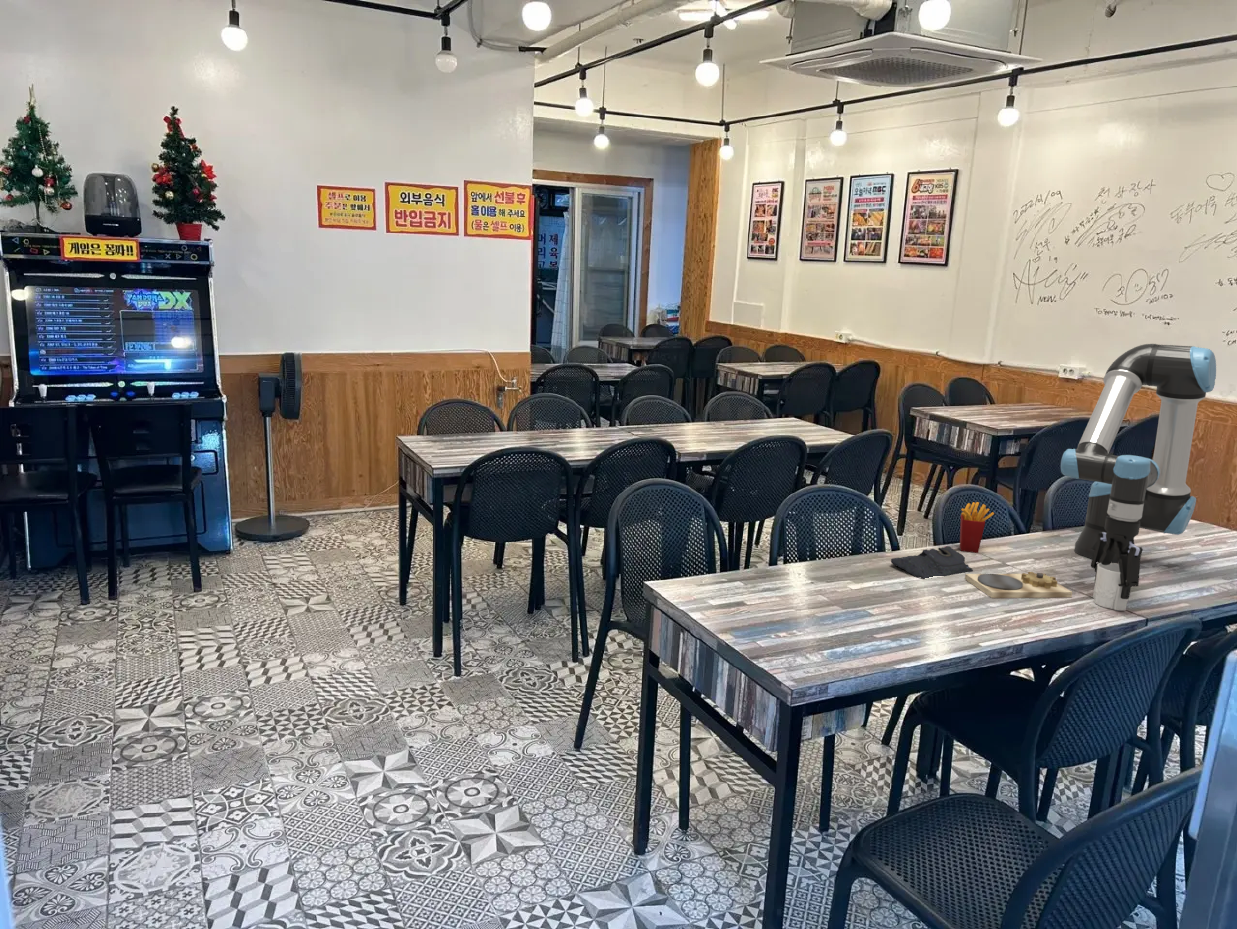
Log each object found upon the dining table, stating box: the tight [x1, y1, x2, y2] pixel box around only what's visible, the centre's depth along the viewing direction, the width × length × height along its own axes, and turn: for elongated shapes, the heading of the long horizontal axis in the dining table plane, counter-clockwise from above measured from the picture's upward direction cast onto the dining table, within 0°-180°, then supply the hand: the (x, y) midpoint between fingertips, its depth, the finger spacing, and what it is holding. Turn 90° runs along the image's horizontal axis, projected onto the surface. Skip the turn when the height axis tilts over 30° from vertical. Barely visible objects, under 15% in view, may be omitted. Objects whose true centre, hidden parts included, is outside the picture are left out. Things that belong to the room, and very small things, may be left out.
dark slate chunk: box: [890, 545, 974, 580], centre depth 246 cm, size 15×22×5 cm
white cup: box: [1093, 562, 1121, 610], centre depth 221 cm, size 8×8×10 cm
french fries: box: [959, 501, 995, 554], centre depth 263 cm, size 9×8×15 cm
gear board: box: [964, 571, 1073, 599], centre depth 232 cm, size 22×14×4 cm, turn 96°
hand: (1108, 603), depth 222 cm, fingers closed on white cup, 8 cm apart
